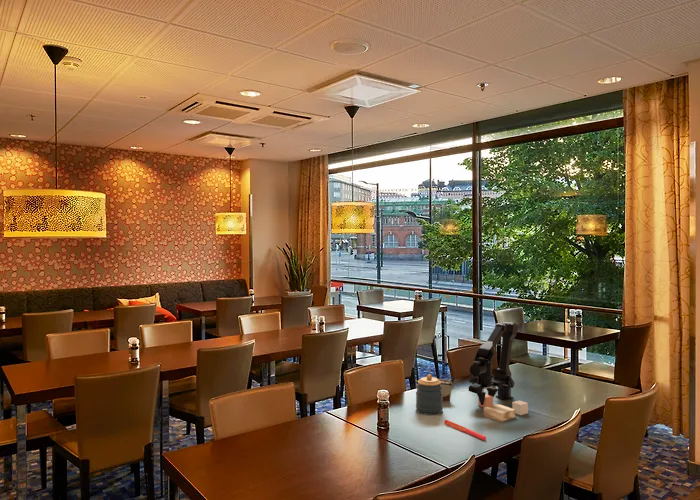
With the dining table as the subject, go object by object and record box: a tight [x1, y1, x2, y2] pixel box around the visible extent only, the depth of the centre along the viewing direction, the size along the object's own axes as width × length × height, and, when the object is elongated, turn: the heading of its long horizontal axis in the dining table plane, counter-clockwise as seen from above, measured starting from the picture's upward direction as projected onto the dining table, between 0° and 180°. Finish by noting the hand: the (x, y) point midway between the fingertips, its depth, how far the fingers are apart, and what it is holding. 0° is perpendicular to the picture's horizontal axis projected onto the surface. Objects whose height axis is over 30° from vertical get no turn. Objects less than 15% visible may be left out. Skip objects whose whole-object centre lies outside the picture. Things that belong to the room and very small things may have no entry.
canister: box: [415, 373, 444, 416], centre depth 252 cm, size 13×13×18 cm
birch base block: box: [483, 403, 516, 422], centre depth 244 cm, size 10×10×4 cm
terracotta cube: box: [478, 393, 494, 409], centre depth 259 cm, size 5×5×5 cm
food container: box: [437, 378, 454, 403], centre depth 269 cm, size 12×6×10 cm, turn 84°
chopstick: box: [443, 419, 487, 441], centre depth 225 cm, size 24×2×5 cm
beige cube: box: [511, 399, 529, 416], centre depth 248 cm, size 5×5×5 cm
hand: (485, 403), depth 259 cm, fingers closed on terracotta cube, 5 cm apart
